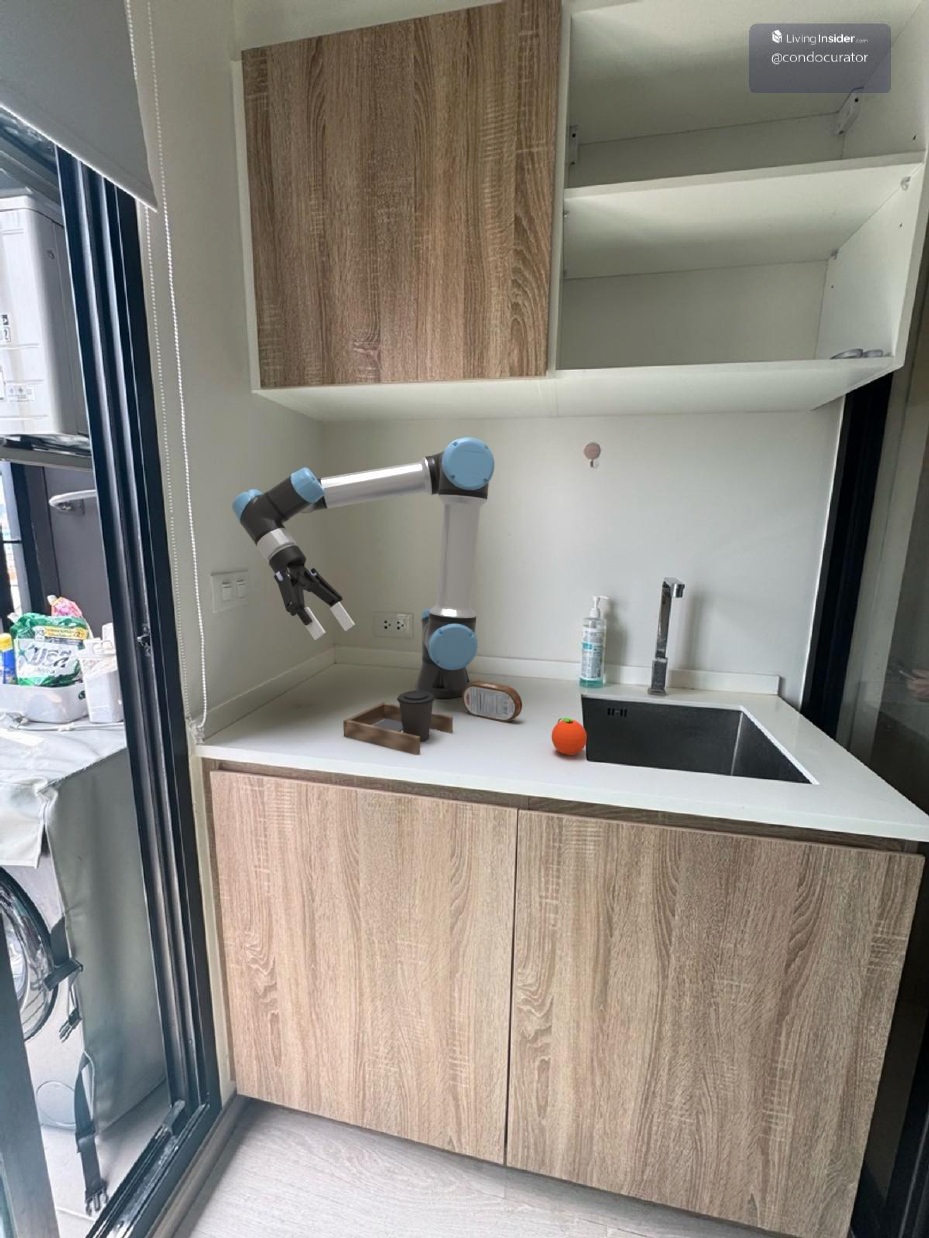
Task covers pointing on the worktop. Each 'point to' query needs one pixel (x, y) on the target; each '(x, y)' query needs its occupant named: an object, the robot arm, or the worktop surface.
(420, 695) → the coffee cup
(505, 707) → the tin
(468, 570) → the robot arm
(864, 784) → the worktop surface
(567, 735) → the clementine
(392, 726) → the pad
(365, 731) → the channel
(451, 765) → the worktop surface
